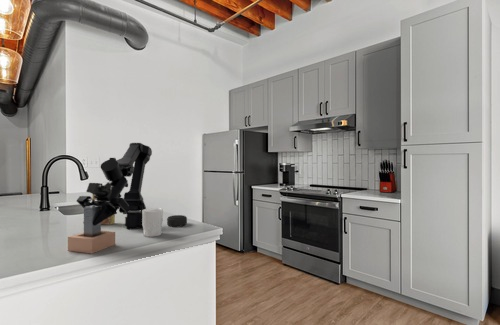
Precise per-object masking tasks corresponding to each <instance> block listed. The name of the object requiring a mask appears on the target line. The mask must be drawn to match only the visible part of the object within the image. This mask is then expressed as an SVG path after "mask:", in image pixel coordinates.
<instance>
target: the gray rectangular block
mask: <svg viewBox="0 0 500 325" xmlns="http://www.w3.org/2000/svg"><path fill="white" fill-rule="evenodd" d="M100 210H101V206H94V205H92V206H87V207H84V208H83V222H84V223H83V232H84V237H95V236H99V235H101V231H102V224H101V222H100V223H99V224H97V225H96V226H94V225H93V222H94V220H95V218H96V217H97V215H98V214H99V212H100Z"/></svg>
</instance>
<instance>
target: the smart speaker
mask: <svg viewBox="0 0 500 325" xmlns="http://www.w3.org/2000/svg"><path fill="white" fill-rule="evenodd" d="M187 224H188V217H187V216H186V215H183V214H177V215H170V216H168V217H167V218H166V225H168V227H171V226H172V228H176V227H177V226H180V227H183V226H186V225H187ZM177 228H178V227H177Z"/></svg>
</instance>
